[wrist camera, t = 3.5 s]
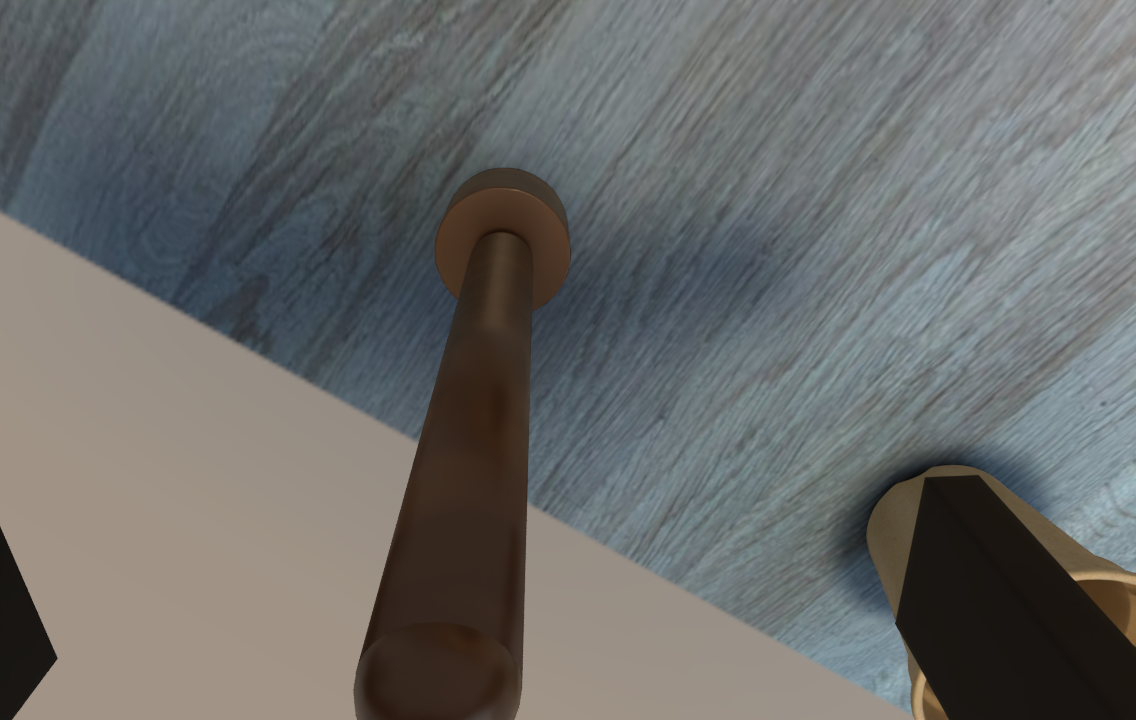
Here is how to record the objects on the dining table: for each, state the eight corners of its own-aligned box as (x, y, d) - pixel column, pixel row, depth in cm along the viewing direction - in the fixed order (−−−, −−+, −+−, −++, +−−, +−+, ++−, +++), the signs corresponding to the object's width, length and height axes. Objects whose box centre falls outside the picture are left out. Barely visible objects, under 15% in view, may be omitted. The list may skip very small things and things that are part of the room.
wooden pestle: (451, 289, 28) (266, 891, 9) (438, 169, 26) (174, 616, 7) (569, 285, 28) (628, 871, 9) (565, 165, 26) (630, 594, 7)
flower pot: (1031, 587, 35) (1169, 753, 28) (829, 616, 36) (909, 789, 28) (1054, 414, 31) (1224, 552, 24) (826, 449, 32) (919, 596, 24)
